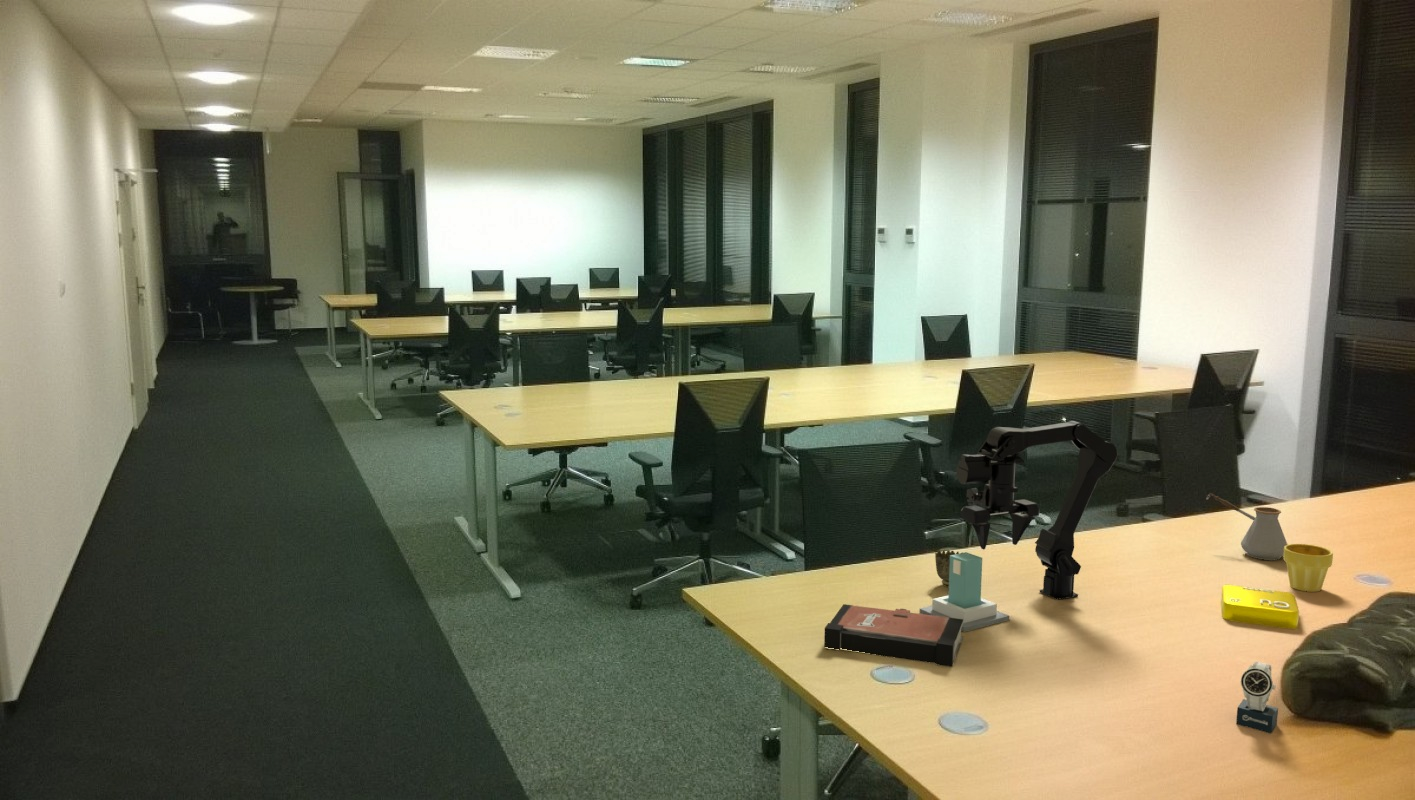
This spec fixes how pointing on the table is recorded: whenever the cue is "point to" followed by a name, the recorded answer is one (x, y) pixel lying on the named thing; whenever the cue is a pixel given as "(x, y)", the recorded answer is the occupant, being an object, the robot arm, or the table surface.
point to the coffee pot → (1261, 533)
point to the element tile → (1259, 606)
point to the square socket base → (966, 613)
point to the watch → (1257, 699)
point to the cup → (943, 565)
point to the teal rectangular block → (965, 580)
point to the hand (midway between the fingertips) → (998, 546)
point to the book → (895, 634)
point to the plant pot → (1307, 566)
